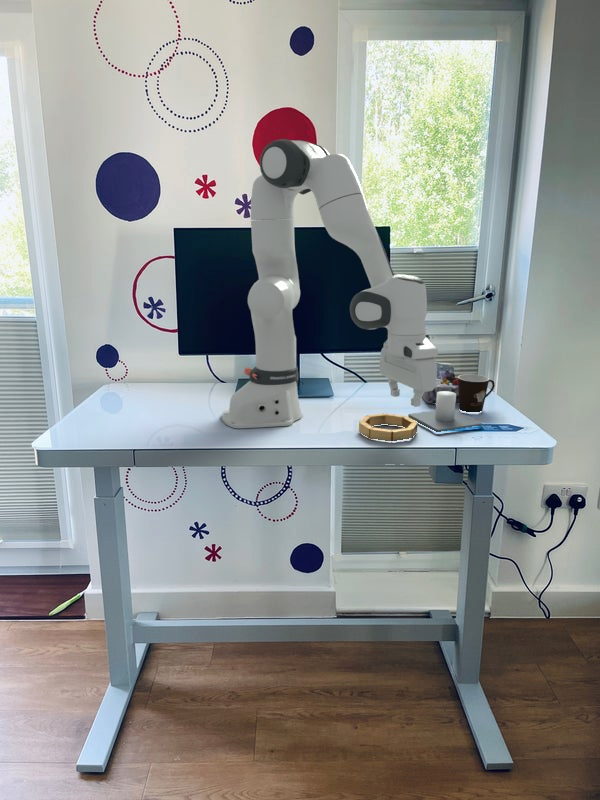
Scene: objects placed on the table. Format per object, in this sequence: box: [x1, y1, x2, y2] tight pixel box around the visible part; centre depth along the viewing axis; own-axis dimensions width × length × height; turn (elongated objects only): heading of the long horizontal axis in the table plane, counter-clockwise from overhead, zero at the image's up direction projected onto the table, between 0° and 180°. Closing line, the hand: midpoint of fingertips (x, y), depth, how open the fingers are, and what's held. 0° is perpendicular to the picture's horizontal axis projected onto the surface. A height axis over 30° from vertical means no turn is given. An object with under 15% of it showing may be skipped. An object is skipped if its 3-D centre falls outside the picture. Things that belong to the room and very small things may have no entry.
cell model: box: [422, 361, 459, 404], centre depth 180 cm, size 13×11×20 cm
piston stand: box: [407, 391, 484, 432], centre depth 157 cm, size 14×14×8 cm
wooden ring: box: [358, 412, 419, 441], centre depth 150 cm, size 14×14×3 cm
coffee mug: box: [457, 373, 496, 412], centre depth 167 cm, size 12×9×10 cm
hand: (405, 400), depth 142 cm, fingers open, 8 cm apart
